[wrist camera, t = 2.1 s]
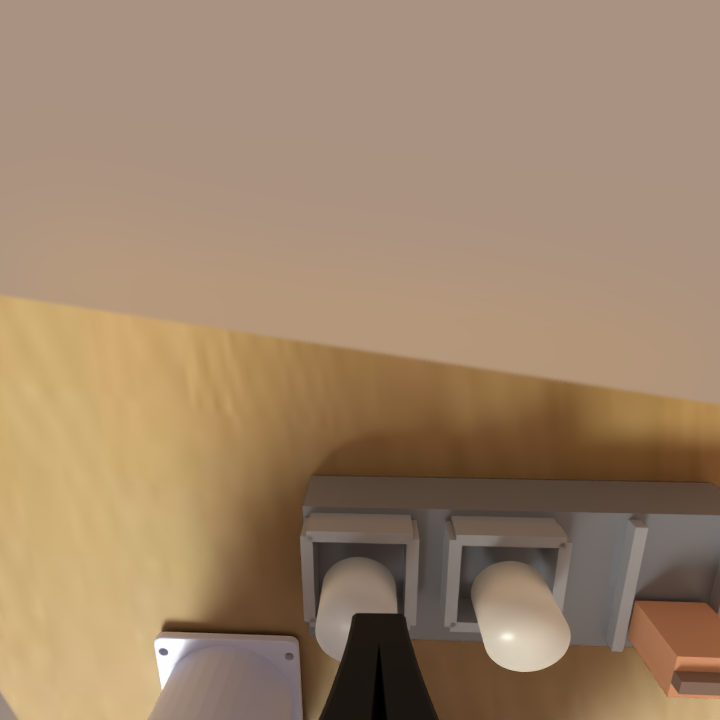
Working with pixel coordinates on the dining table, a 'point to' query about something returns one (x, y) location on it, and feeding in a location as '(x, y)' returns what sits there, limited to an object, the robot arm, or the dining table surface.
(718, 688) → the slider switch
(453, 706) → the dining table surface
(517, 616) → the cream button
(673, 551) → the control panel
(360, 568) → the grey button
